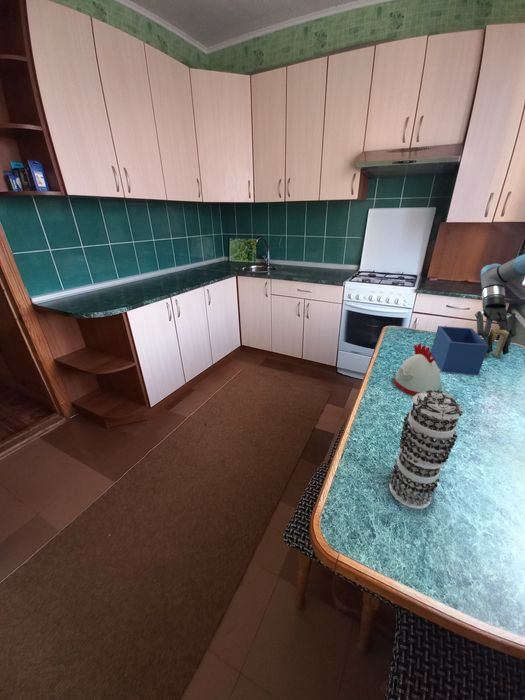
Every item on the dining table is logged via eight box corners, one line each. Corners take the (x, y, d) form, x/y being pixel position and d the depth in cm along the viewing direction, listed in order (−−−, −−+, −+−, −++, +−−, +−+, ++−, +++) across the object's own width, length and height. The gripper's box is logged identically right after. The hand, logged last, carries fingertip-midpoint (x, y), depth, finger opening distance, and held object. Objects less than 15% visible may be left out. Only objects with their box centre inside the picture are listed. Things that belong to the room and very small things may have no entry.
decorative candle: (380, 493, 63) (403, 400, 52) (395, 467, 69) (419, 379, 58) (425, 519, 58) (462, 422, 47) (438, 489, 64) (473, 396, 53)
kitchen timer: (417, 372, 108) (426, 335, 101) (448, 392, 96) (461, 352, 89) (385, 378, 104) (393, 341, 97) (414, 400, 92) (425, 359, 86)
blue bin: (430, 351, 122) (438, 325, 117) (463, 354, 119) (471, 328, 114) (441, 371, 108) (450, 342, 103) (478, 374, 105) (489, 345, 100)
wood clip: (495, 354, 119) (505, 329, 114) (499, 358, 116) (509, 332, 111) (482, 353, 120) (491, 328, 115) (485, 356, 117) (494, 331, 112)
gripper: (513, 305, 121) (518, 358, 115) (465, 302, 126) (467, 353, 119) (524, 296, 114) (530, 352, 108) (473, 294, 119) (476, 347, 112)
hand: (497, 352), depth 113 cm, fingers closed on wood clip, 5 cm apart
